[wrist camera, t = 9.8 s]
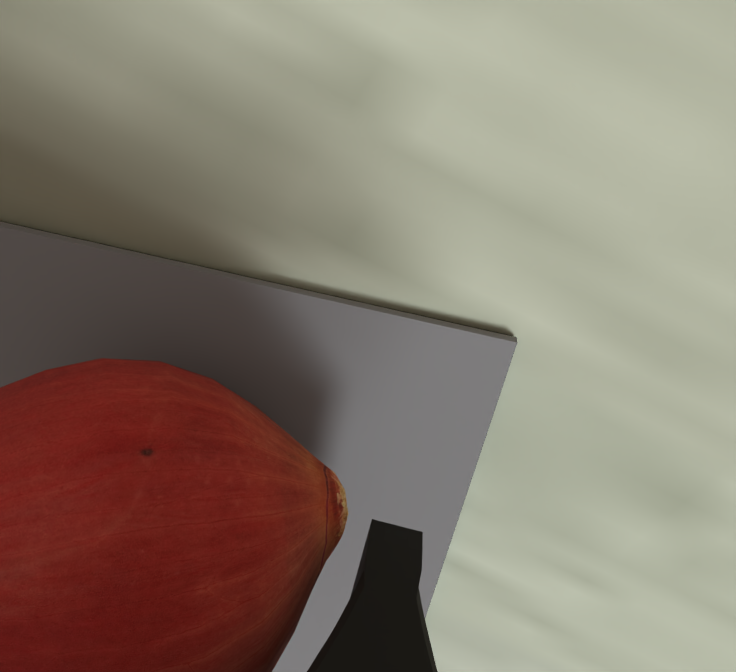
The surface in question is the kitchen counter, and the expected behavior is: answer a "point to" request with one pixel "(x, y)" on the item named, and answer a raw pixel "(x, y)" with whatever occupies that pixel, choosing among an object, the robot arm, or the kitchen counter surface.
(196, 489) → the onion
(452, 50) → the kitchen counter surface
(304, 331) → the letter mat
